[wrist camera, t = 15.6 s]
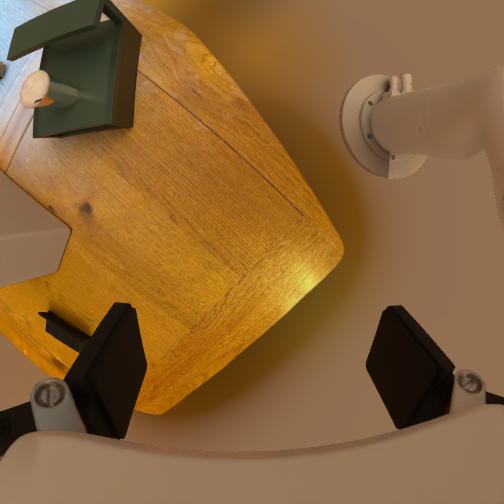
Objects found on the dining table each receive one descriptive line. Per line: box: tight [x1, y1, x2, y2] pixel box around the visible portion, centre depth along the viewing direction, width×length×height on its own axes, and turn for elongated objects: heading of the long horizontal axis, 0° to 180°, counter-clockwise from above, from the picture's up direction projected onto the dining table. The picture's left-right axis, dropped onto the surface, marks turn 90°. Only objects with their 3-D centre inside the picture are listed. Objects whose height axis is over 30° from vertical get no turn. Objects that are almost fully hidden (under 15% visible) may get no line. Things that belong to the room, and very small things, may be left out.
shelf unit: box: [7, 0, 142, 138], centre depth 26 cm, size 16×14×16 cm
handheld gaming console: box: [38, 311, 90, 353], centre depth 45 cm, size 12×7×10 cm
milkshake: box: [20, 70, 78, 108], centre depth 22 cm, size 4×5×10 cm
